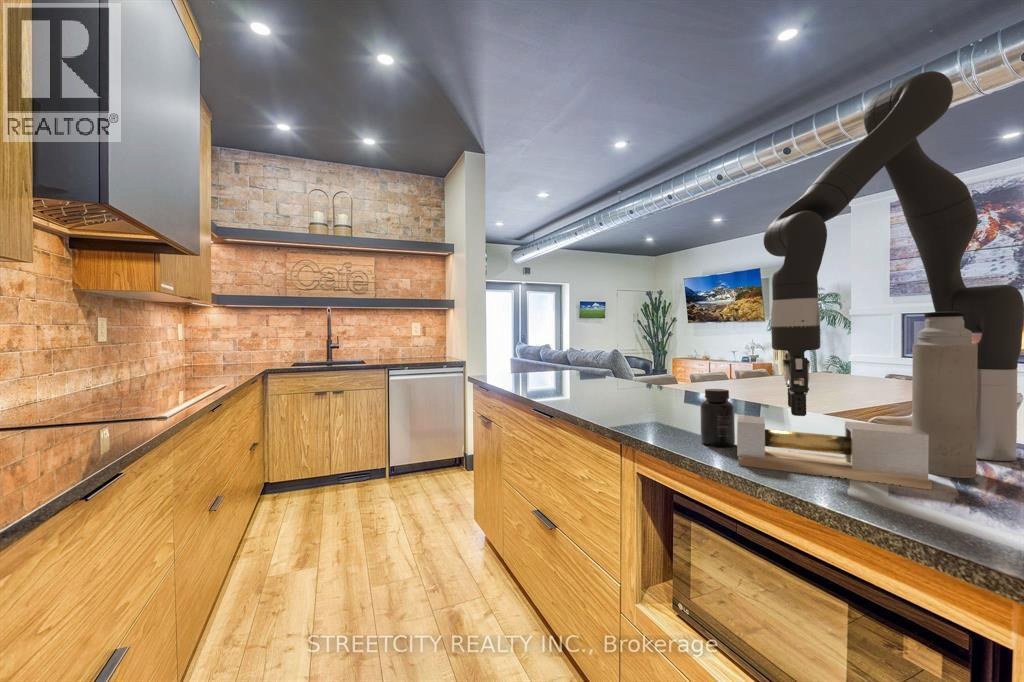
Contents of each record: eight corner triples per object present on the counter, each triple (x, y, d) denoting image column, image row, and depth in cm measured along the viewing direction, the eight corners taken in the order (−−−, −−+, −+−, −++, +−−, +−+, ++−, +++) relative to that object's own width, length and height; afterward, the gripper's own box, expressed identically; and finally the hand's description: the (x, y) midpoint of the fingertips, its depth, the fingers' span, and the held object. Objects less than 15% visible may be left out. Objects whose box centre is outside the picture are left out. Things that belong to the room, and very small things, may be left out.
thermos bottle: (951, 464, 78) (952, 312, 78) (990, 479, 70) (992, 310, 70) (900, 462, 80) (901, 313, 79) (933, 476, 72) (935, 311, 71)
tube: (854, 453, 76) (854, 435, 76) (858, 458, 73) (858, 439, 73) (751, 442, 84) (751, 426, 84) (751, 446, 81) (751, 429, 81)
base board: (739, 451, 88) (739, 446, 88) (910, 471, 75) (910, 464, 75) (738, 465, 79) (738, 458, 79) (931, 489, 66) (931, 482, 66)
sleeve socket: (738, 447, 86) (738, 413, 86) (914, 466, 73) (914, 426, 73) (737, 456, 81) (737, 419, 80) (928, 478, 67) (928, 435, 67)
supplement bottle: (736, 442, 95) (736, 388, 95) (733, 449, 90) (733, 392, 89) (702, 438, 99) (702, 387, 99) (698, 445, 93) (698, 390, 93)
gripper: (825, 323, 71) (827, 420, 71) (815, 323, 83) (816, 405, 83) (772, 325, 74) (774, 417, 75) (770, 324, 87) (771, 403, 87)
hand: (796, 411), depth 79 cm, fingers open, 8 cm apart
